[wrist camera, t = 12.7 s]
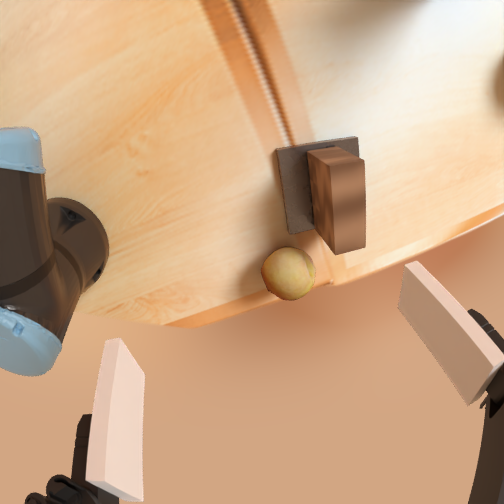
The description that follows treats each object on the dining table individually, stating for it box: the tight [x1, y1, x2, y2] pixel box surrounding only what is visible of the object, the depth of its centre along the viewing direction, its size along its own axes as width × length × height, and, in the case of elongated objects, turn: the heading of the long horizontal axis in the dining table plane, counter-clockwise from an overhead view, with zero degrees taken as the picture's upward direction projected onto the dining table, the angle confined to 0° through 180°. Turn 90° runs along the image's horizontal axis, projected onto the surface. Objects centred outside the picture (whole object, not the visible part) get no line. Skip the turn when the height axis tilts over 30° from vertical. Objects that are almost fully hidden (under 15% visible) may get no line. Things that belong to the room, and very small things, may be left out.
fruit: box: [261, 247, 316, 300], centre depth 46 cm, size 8×8×8 cm
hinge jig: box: [276, 136, 359, 234], centre depth 42 cm, size 12×13×4 cm
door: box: [307, 146, 366, 255], centre depth 40 cm, size 12×4×8 cm, turn 10°
